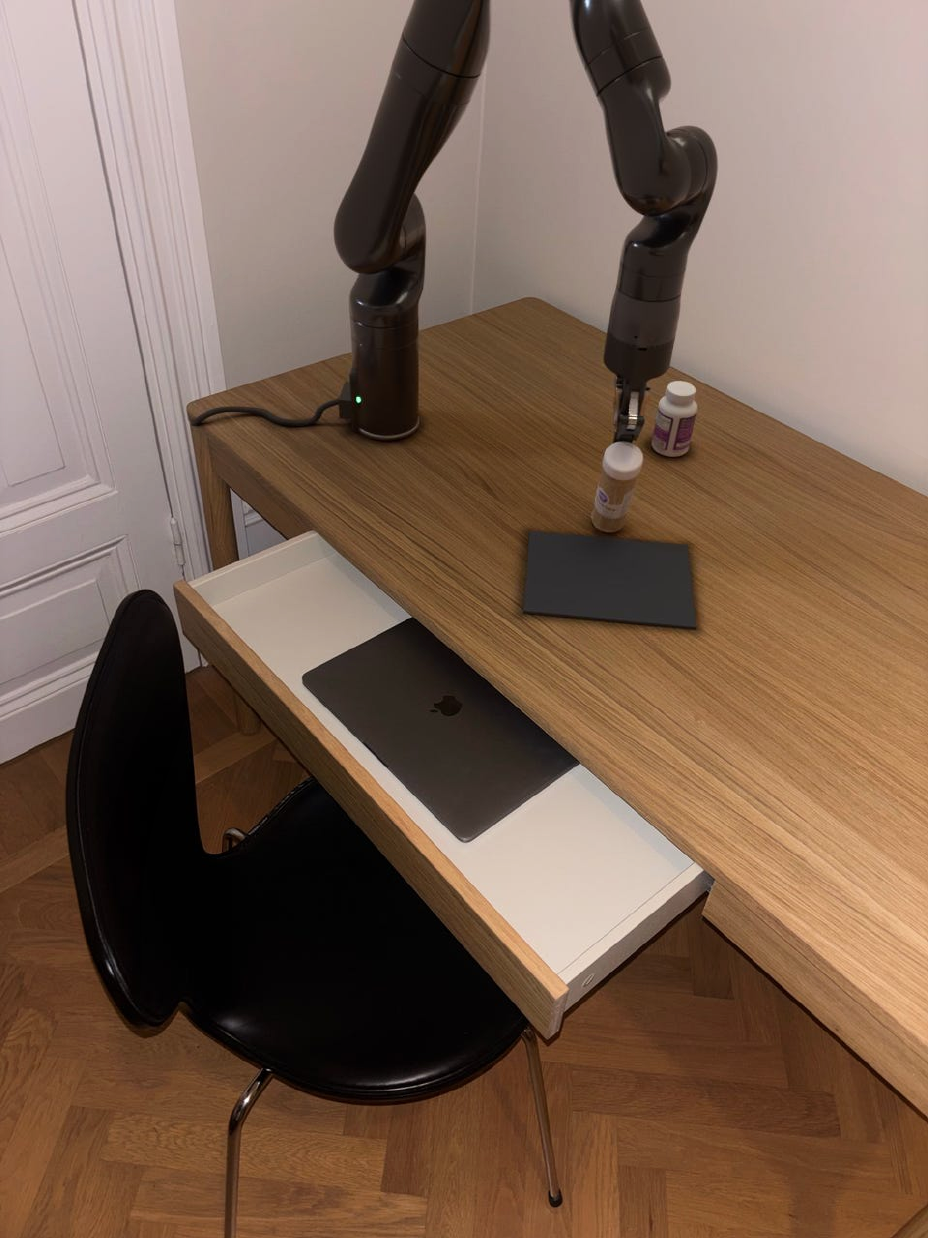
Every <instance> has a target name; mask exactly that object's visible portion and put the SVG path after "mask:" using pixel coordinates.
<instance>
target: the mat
mask: <svg viewBox="0 0 928 1238" xmlns="http://www.w3.org/2000/svg"><path fill="white" fill-rule="evenodd" d="M527 546H528V548H527V557H526V558H527V559H526V571H525V583H524V596H523V607H522V614H526V615H537V616H538V615H539V616H547V617H559V618H570V619H581V620H590V621H601V622H602V621H604V622H611V623H621V624H633V625H644V626H655V627H667V628H676V629H688V630H697V617H696V609H695V601H694V591H693V582H692V581H693V580H692V571H691V564H690V563H691V562H690V554H689V546H688V544H683V543H669V542H659V541H648V540H635V539H626V538H625V539H624V538H614V537H602V536H591V535H581V534H580V535H579V534H571V533H570V534H568V533H557V532H547V531H546V532H545V531H536V530H535V531H534V530H529V535H528V545H527Z"/></svg>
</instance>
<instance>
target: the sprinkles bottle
mask: <svg viewBox="0 0 928 1238" xmlns="http://www.w3.org/2000/svg"><path fill="white" fill-rule="evenodd" d="M643 463H644V455H643V452H642V450H641V448H640V447H638V446H637V445H635V444H634V443H630V442H625V441H620V442H616V443H613V442H612V443H611V444H610V445H609V446H608V447H607V448H606V450H605V451H604V455H603V458H602V471H601V474H600V479H599V483H598V486H597V490H596V493H595V497H594V505H593V509H592V512H591V514H590V519H591V522H592V524H593V527H594V528H596V529H597V530H599V531H601V532H602V533H606V534H607V533H615V532H618V531H620V530H621V529H622V528H623V527H624V526H625V525H626V521H627V516H628V515H627V514H628V512H629V509H630V506H631V502H632V498H633V494H634V491H635V487H636V484H637V478H638V475H639V474H640V473H641V471H642V470H641V469H642V466H643Z"/></svg>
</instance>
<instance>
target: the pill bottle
mask: <svg viewBox="0 0 928 1238" xmlns="http://www.w3.org/2000/svg"><path fill="white" fill-rule="evenodd" d="M696 394H697V388H696V386H695V385H693V384H692V383H691V382H687V381H684V380H675V381H671V382H669V383H668V384H667V386H666V390H665V395H664V396H663V397H662V398H660V400H659V403H658V405H657V412H656V417H655V422H654V428H653V432H652V438H651V447H652V448H653V450H654V451H655V452H656V453H658V454H659V455H662V456H665V457H669V458H675V457H681V456H683V455H685V454H687V453H688V451H689V449H690V445H691V441H692V436H693V433H694V428H695V423H696V419H697V414H698V404H697V402H696V400H695V399H696Z"/></svg>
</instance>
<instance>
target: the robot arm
mask: <svg viewBox="0 0 928 1238" xmlns="http://www.w3.org/2000/svg"><path fill="white" fill-rule="evenodd" d="M568 9H569V19H570V26H571V32H572V33H571V34H572V37H573V41H574V43H575V44H574V45H575V48H576V51H577V54H578V57H579V60H580V62H581V65H582V67H583V69H584V72H585V73H586V76H587V79H588V81H589V83H590V86H591V88H592V91H593V93H594V95H595V97H596V100H597V102H598V104H599V106H600V108H601V110H602V115H603V120H604V128H605V130H604V131H605V136H606V141H607V147H608V153H609V159H610V162H611V169H612V173H613V177H614V178H613V179H614V181H615V184H616V187H617V189H618V192H619V193H620V196H622V198H623V200H624V201H625V203H626V204H627V206H629V207H630V208H631V209H632V210H633V211H634V212H636V213H637V214H639V215H641V216H642V218H641V220H640V221H639V222H638V224H636V225H635V226H634V227H633V228H632V229H631V230H630V231H629V232H628V233H627V235H626V236H625V237H624V240H623V243H622V247H621V252H620V257H619V265H618V271H617V278H616V284H615V288H614V289H615V290H614V293H613V296H612V300H611V303H610V308H609V309H610V310H609V311H610V312H609V317H608V324H607V332H606V338H605V345H604V352H603V363H604V365H605V367H606V369H607V370H608V371H610V373H612V374H614V381H613V384H614V385H613V386H614V396H613V402H612V408H613V439H612V444H613V443H616V442H620V441H625V442H630V443H632V444H634V443H633V442H637V441H638V439H639V436H640V434H641V431H642V429H643V426H644V425H645V423H646V422H645V421H646V419H645V411H646V405H647V404H648V403H649V402H650V398H651V389H652V387H651V386H650V381H651V380H654V379H657V378H660V377H662V376H664V375H665V374H666V373H667V372H668V370H669V369H670V365H671V360H672V355H673V351H674V345H675V341H676V336H677V330H678V325H679V320H680V315H681V303H682V293H683V288H684V282H685V277H686V272H687V266H688V261H689V254H690V251H691V248H692V246H693V245H694V242H695V240H696V237H697V235H698V233H699V231H700V229H701V226H702V223H703V221H704V218H705V216H706V213H707V212H708V208H709V206H710V203H711V200H712V197H713V194H714V191H715V188H716V184H717V180H718V173H719V172H718V171H719V159H718V151H717V148H716V145H715V142H714V140H713V139H712V137H711V135H710V134H709V133H708V132H707V131H706V130H704V129H703V128H701V127H699V126H697V125H696V126H695V125H681V126H677V127H674V128H671V129H668V130H665V126H664V122H663V117H662V113H661V106H660V105H661V104H662V102H663V101H665V100H666V98H667V97H668V96H669V94H670V92H671V89H672V78H671V74H670V69H669V67H668V65H667V62H666V60H665V58H664V55H663V52H662V50H661V46H660V45H659V42H658V40H657V38H656V35H655V32H654V30H653V28H652V25H651V22H650V20H649V18H648V16H647V13H646V11H645V8H644V5H643V4H642V1H641V0H568ZM492 15H493V14H492V0H413V2H412V4H411V7H410V11H409V13H408V15H407V18H406V21H405V24H404V26H403V29H402V32H401V34H400V38H399V41H398V44H397V47H396V50H395V53H394V56H393V59H392V62H391V65H390V69H389V73H388V76H387V80H386V83H385V86H384V89H383V92H382V95H381V98H380V101H379V104H378V106H377V110H376V113H375V116H374V120H373V122H372V125H371V128H370V132H369V135H368V139H367V142H366V145H365V148H364V150H363V153H362V155H361V158H360V160H359V163H358V165H357V167H356V170H355V172H354V174H353V176H352V179H351V180H350V183H349V185H348V187H347V189H346V191H345V193H344V196H343V198H342V200H341V202H340V204H339V206H338V208H337V211H336V214H335V216H334V221H333V227H332V228H333V231H332V232H333V233H332V235H333V242H334V243H333V244H334V245H335V249H336V252H337V254H338V257H339V259H340V260H341V261H342V263H343V264H344V266H346V267H347V268H348V269H349V270H350V271H352V272H354V273H356V274H357V277H356V278H355V281H354V282H353V284H352V286H351V288H350V290H349V294H348V311H349V312H348V313H349V329H350V330H349V331H350V346H351V348H350V349H351V350H350V351H351V365H350V369H349V372H348V381H344V384H343V386H342V389H341V392H340V394H339V396H338V397H337V398H334V399H331V400H328V401H326V402H324V403H322V404H321V405H320V406H319V407H318V408H317V409H316V410H315V413H314V415H313V416H312V417H310V418H307V419H301V420H299V419H289V418H284V417H280V416H277V415H275V414H273V413H271V412H270V411H268V410H267V409H264V408H260V407H253V406H237V405H236V406H235V405H234V406H233V405H230V406H229V405H228V406H220V407H214V408H212V409H208V410H207V411H204V412H203V413H201V414H200V415H198V416H197V417H196V418H195V419H194V420H192V422H191V424H190V426H192V427H196V426H199V425H200V424H201V423H202V422H203V421H205V420H206V419H209V418H210V417H214V416H215V415H219V414H225V413H243V414H256V415H261V416H263V417H265V418H267V419H268V420H270V421H271V422H274V423H276V424H280V425H286V426H292V427H293V426H294V427H306V426H310V425H313V424H315V423H317V422H318V421H319V420H320V419H321V417H322V415H323V413H324V412H325V411H326V410H328V409H330V408H332V407H335V406H338V414H339V415H338V417H339V419H341V420H343V419H344V420H351V430H352V432H353V433H358V434H361V435H362V436H363V437H366V438H368V439H371V440H377V441H384V442H385V441H388V442H389V441H390V442H391V441H396V440H402V439H405V438H408V437H410V436H411V435H413V434H414V433H416V432H417V430H418V429H419V427H420V409H419V407H420V405H419V403H420V402H419V401H420V399H419V398H420V397H419V393H420V392H419V391H420V390H419V389H420V388H419V387H420V386H419V385H420V383H419V378H420V377H419V376H420V375H419V374H420V373H419V372H420V371H419V369H420V367H419V366H420V365H419V363H420V362H419V361H420V359H419V357H420V356H419V355H420V351H419V350H420V349H419V348H420V347H419V345H420V344H419V339H420V335H419V325H420V324H419V317H420V316H419V305H420V300H421V298H422V294H423V291H424V287H425V279H426V260H427V259H426V258H427V256H426V255H427V222H426V216H425V211H424V207H423V205H422V203H421V200H420V199H419V197H418V196H417V194H416V190H417V188H418V186H419V184H420V182H421V181H422V179H423V177H424V175H425V174H426V172H427V171H428V169H429V168H430V167H431V165H432V164H433V162H434V161H435V159H436V158H437V156H438V155H439V154H440V153H441V151H442V150H443V148H444V147H445V145H446V144H447V142H448V141H449V139H450V138H451V136H452V134H453V133H454V132H455V130H456V128H457V127H458V125H459V124H460V122H461V120H462V118H463V117H464V115H465V113H466V111H467V108H468V106H469V104H470V103H471V100H472V97H473V95H474V93H475V92H476V91H475V90H476V88H477V87H478V86H477V85H478V83H479V81H480V78H481V76H482V73H483V71H484V68H485V65H486V64H487V60H488V57H489V53H490V48H491V43H492V25H493V22H492V21H493V20H492V19H493V18H492Z"/></svg>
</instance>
